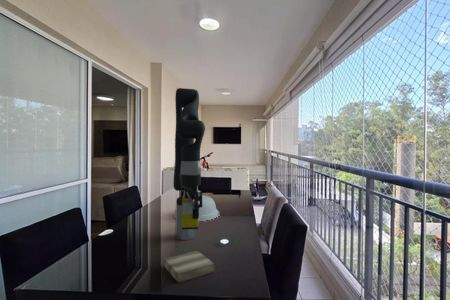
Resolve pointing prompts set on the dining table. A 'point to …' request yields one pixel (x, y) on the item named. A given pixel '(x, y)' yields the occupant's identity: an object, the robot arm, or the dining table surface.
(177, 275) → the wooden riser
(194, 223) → the supplement box
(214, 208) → the dome cover
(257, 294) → the dining table surface
